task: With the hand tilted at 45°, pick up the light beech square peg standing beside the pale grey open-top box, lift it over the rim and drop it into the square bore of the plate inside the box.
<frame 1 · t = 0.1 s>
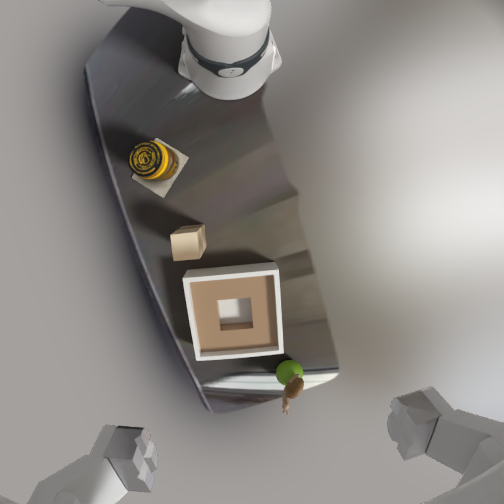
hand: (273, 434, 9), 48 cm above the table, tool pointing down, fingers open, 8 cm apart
snail figurine: (286, 367, 62), on the table
condiment: (160, 167, 53), on the table
beech peg: (194, 236, 55), on the table
open box: (235, 306, 58), on the table
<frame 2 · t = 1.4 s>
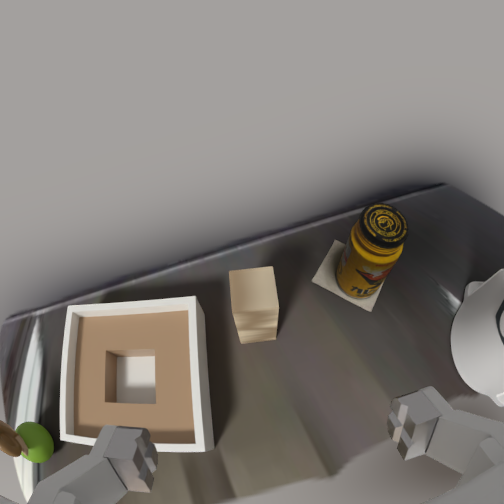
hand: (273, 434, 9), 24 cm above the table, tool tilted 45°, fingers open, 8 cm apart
snail figurine: (45, 441, 27), on the table
condiment: (351, 275, 39), on the table
beech peg: (256, 325, 36), on the table
open box: (141, 382, 32), on the table
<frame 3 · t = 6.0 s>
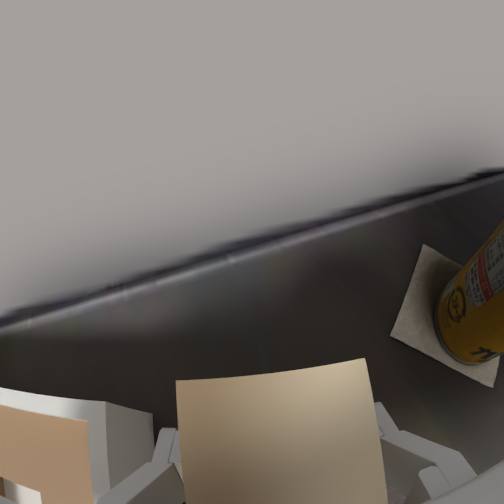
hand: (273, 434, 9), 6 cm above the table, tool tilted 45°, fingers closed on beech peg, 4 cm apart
condiment: (457, 316, 17), on the table
beech peg: (270, 444, 13), on the table, touching gripper
when the fingers open (8 cm above the table, at t = 11.6 s): beech peg drops 1 cm, resting on open box.
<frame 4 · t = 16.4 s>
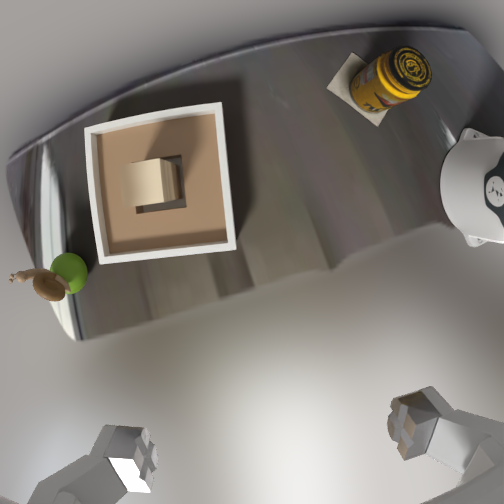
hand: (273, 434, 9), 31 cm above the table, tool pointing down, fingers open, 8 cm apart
snail figurine: (75, 266, 39), on the table
condiment: (364, 89, 36), on the table
beech peg: (165, 184, 36), point 1 cm above the table, touching open box
open box: (165, 184, 37), on the table
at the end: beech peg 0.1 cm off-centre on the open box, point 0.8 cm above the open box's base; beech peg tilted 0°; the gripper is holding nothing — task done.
